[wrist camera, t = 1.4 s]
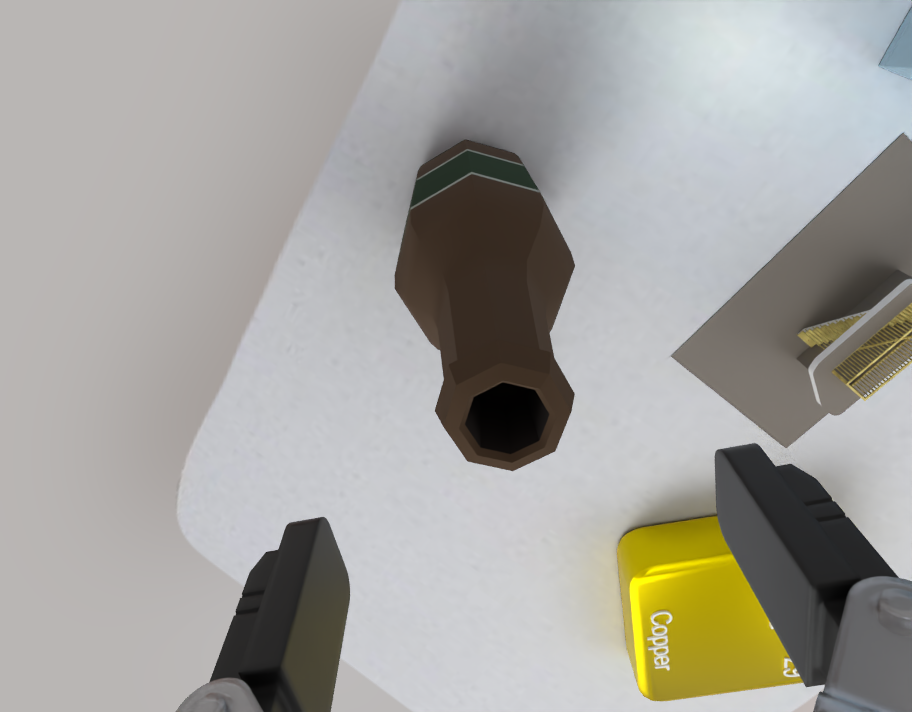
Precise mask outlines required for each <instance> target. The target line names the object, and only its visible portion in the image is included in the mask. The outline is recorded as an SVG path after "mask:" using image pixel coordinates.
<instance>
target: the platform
mask: <svg viewBox="0 0 912 712" xmlns="http://www.w3.org/2000/svg"><path fill="white" fill-rule="evenodd" d="M911 356H912V142H911V141H910V140H909V139H908V138H907V136H906V135H905V134H904V133H903V134H902V135H901V136H900V137H899V138H898V139H897V140H896V141H894V142H893V143H892V144H891V145H890V146H889V147H888V148H887V149H886V150H885V151H884V152H883V153H882V154H881V155H880V156H879V157H878V158H877V159H876V160H875V161H874V162H873V163H872V164H871V165H870V166H868V167H867V168H866V169H865V170H864V171H863V172H862V173H861V174H860V175H859V176H858V177H857V178H856V179H855V180H854V181H853V182H852V183H851V184H850V185H849V186H848V187H847V188H846V189H845V190H844V191H843V192H841V193H840V194H839V195H838V196H837V197H836V198H835V199H834V200H833V201H832V202H831V203H830V204H829V205H828V206H827V207H826V208H825V209H824V210H823V211H822V212H821V213H820V214H819V215H818V216H817V217H815V218H814V219H813V220H812V221H811V222H810V223H809V224H808V225H807V226H806V227H805V228H804V229H803V230H802V231H801V232H800V233H799V234H798V235H797V236H796V237H795V238H794V239H793V240H792V241H791V242H790V243H788V244H787V245H786V246H785V247H784V248H783V249H782V250H781V251H780V252H779V253H778V254H777V255H776V256H775V257H774V258H773V259H772V260H771V261H770V262H769V263H768V264H767V265H766V266H765V267H764V268H762V269H761V270H760V271H759V272H758V273H757V274H756V275H755V276H754V277H753V278H752V279H751V280H750V281H749V282H748V283H747V284H746V285H745V286H744V287H743V288H742V289H741V290H740V291H739V292H738V293H736V294H735V295H734V296H733V297H732V298H731V299H730V300H729V301H728V302H727V303H726V304H725V305H724V306H723V307H722V308H721V309H720V310H719V311H718V312H717V313H716V314H715V315H714V316H713V317H712V318H711V319H709V320H708V321H707V322H706V323H705V324H704V325H703V326H702V327H701V328H700V329H699V330H698V331H697V332H696V333H695V334H694V335H693V336H692V337H691V338H690V339H689V340H688V341H687V342H686V343H685V344H683V345H682V346H681V347H680V348H679V349H678V350H677V351H676V352H675V353H674V354H673V355H672V356H671V357H672V358H674V359H675V360H676V361H677V362H679V363H680V364H681V365H682V366H684V367H685V368H686V369H687V370H689V371H690V372H691V373H692V374H694V375H695V376H696V377H697V378H699V379H700V380H701V381H702V382H704V383H705V384H706V385H708V386H709V387H710V388H711V389H713V390H714V391H715V392H716V393H718V394H719V395H720V396H721V397H723V398H724V399H725V400H726V401H728V402H729V403H730V404H731V405H733V406H734V407H735V408H736V409H738V410H739V411H740V412H741V413H743V414H744V415H745V416H746V417H748V418H749V419H750V420H751V421H753V422H754V423H755V424H756V425H758V426H759V427H760V428H761V429H763V430H764V431H765V432H766V433H768V434H769V435H770V436H771V437H773V438H774V439H775V440H776V441H778V442H779V443H780V444H781V445H783V446H784V447H785V448H787V447H788V446H790V445H791V444H792V443H793V442H794V441H796V440H797V439H798V438H799V437H800V436H802V435H803V434H804V433H805V432H806V431H808V430H809V429H810V428H811V427H812V426H814V425H815V424H816V423H817V422H819V421H820V420H821V419H822V418H823V417H825V416H826V415H827V414H828V413H830V414H831V415H840V414H841V413H843V412H844V411H845V410H846V409H848V408H849V407H850V406H851V405H853V404H854V403H855V402H856V401H857V400H859V399H860V398H862V399H863V400H864V401H866V400H867V399H868V398H869V397H870V396H872V395H873V394H874V393H875V392H877V391H878V390H879V389H880V388H881V387H883V386H884V385H885V384H886V383H888V382H889V381H890V380H891V379H893V378H894V377H895V376H896V375H897V374H899V373H900V372H901V371H902V370H904V369H905V368H906V367H907V366H908V365H910V364H911V363H912V359H911V358H910V357H911ZM907 359H910V360H911V361H910V362H909V361H907ZM905 361H906V362H908V363H907V364H905V363H904V362H905ZM901 364H904V365H905V366H901ZM899 366H901V367H902V368H901V369H899V368H898V367H899ZM896 368H897V369H899V371H896V370H895V369H896ZM893 371H895V372H896V373H895V374H894V373H892V372H893ZM890 373H892V374H893V375H892V376H890V375H889V374H890ZM887 376H890V378H889V379H888V378H887ZM884 378H886V379H888V380H886V381H885V380H884ZM882 380H883V381H884V383H881V381H882ZM879 382H880V383H881V385H880V386H879V385H878V383H879ZM876 385H878V386H879V387H878V388H876V387H875V386H876ZM873 387H874V388H876V389H875V390H873V389H872V388H873ZM870 390H872V391H873V392H872V393H871V392H870ZM867 392H869V393H870V394H869V395H868V394H866V393H867ZM865 394H866V395H867V397H864V395H865Z"/></svg>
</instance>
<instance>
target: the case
mask: <svg viewBox="0 0 912 712" xmlns="http://www.w3.org/2000/svg"><path fill="white" fill-rule="evenodd" d="M879 67H881V68H883V69H886V70H888V71H891V72H893V73H896V74H898V75H901V76H903V77H906V78H908V79H911V80H912V7H911V9H910V11H909V13H908V14H907V16H906V18H905V20H904V22H903V23H902V25H901V27H900V29H899V30H898V32H897V34H896V36H895V37H894V39H893V41H892V43H891V45H890V46H889V48H888V50H887V52H886V53H885V55H884V57H883V59H882V60H881V62H880V64H879Z"/></svg>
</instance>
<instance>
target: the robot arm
mask: <svg viewBox="0 0 912 712" xmlns="http://www.w3.org/2000/svg"><path fill="white" fill-rule="evenodd" d="M715 481H716V509H717V517H718V522H719V526H720V529H721V532H722V535H723V537H724V539H725V541H726V543H727V545H728V547H729V549H730V551H731V552H732V554H733V556H734V558H735V560H736V561H737V563H738V565H739V567H740V569H741V570H742V572H743V574H744V576H745V578H746V579H747V581H748V583H749V585H750V587H751V589H752V590H753V592H754V594H755V596H756V598H757V599H758V601H759V603H760V605H761V607H762V608H763V610H764V612H765V614H766V616H767V617H768V619H769V621H770V623H771V625H772V626H773V628H774V630H775V632H776V634H777V635H778V637H779V639H780V641H781V643H782V645H783V646H784V648H785V650H786V652H787V654H788V655H789V657H790V659H791V661H792V663H793V664H794V666H795V668H796V670H797V672H798V673H799V675H800V677H801V679H802V681H803V682H804V684H805V686H806V687H810V686H817V685H824V684H825V688H824V691H823V692H819V695H818V697H817V700H816V704H815V708H814V711H813V712H912V581H909V580H906V579H901V578H899V577H898V576H897V575H896V574H895V573H894V571H893V570H892V569H891V568H890V567H889V565H888V564H887V563H886V562H885V561H884V560H883V558H882V557H881V556H880V555H879V554H878V552H877V551H876V550H875V549H874V548H873V546H872V545H871V544H870V543H869V542H868V540H867V539H866V538H865V537H864V536H863V534H862V533H861V532H860V531H859V530H858V528H857V527H856V526H855V525H854V524H853V522H852V521H851V520H850V519H849V518H848V517H847V518H846V516H845V513H844V512H843V511H842V509H841V508H840V507H839V506H838V505H837V503H836V502H835V501H834V502H833V501H832V497H831V496H830V495H829V494H828V493H827V491H826V490H825V489H824V488H823V487H822V485H821V484H820V483H819V482H818V481H817V479H816V478H814V477H812V476H811V475H809V474H807V473H805V472H804V471H802V470H800V469H799V468H797V467H795V466H794V465H792V464H787V465H781V466H775V465H774V464H773V463H772V461H771V460H770V459H769V457H768V456H767V455H766V453H765V452H764V451H763V450H762V448H761V447H760V446H759V445H758V444H756V443H753V444H747V445H742V446H736V447H730V448H724V449H719V450H717V451H716V453H715ZM349 601H350V584H349V577H348V573H347V570H346V567H345V564H344V561H343V559H342V556H341V553H340V551H339V548H338V546H337V543H336V540H335V538H334V535H333V532H332V530H331V527H330V524H329V522H328V520H327V519H326V518H325V517H320V518H314V519H308V520H303V521H297V522H291V523H289V524H288V525H287V526H286V528H285V531H284V534H283V537H282V540H281V543H280V546H279V549H278V550H275V551H269V552H266V553H265V554H264V556H263V557H262V558H261V559H260V560H259V562H258V563H257V564H256V565H255V567H254V568H253V569H252V570H251V572H250V573H249V576H248V579H247V581H246V584H245V587H244V590H243V592H242V598H240V601H239V603H238V606H237V609H236V616H234V617H233V620H232V622H231V625H230V628H229V631H228V633H227V636H226V639H225V641H224V644H223V647H222V650H221V652H220V655H219V658H218V660H217V663H216V666H215V668H214V671H213V674H212V677H211V679H210V682H209V683H207V684H205V685H203V686H202V687H200V688H199V689H197V690H196V691H194V692H193V693H192V694H191V695H190V696H189V697H187V698H186V699H185V700H184V702H183V703H182V704H181V705H180V706H179V708H178V709H177V711H176V712H331V705H332V700H333V694H334V688H335V683H336V677H337V671H338V665H339V659H340V654H341V648H342V642H343V636H344V630H345V625H346V619H347V613H348V607H349Z"/></svg>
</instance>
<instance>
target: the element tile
mask: <svg viewBox="0 0 912 712" xmlns="http://www.w3.org/2000/svg"><path fill="white" fill-rule="evenodd" d="M617 559H618V569H619V579H620V588H621V598H622V608H623V617H624V627H625V637H626V646H627V651H628V654H629V658H630V661H631V664H632V668H633V671H634V675H635V678H636V681H637V685H638V688H639V690H640V692H641V693H642V694H643V696H644V697H646V698H648V699H650V700H652V701H671V700H678V699H686V698H693V697H701V696H708V695H715V694H723V693H730V692H738V691H745V690H753V689H760V688H767V687H775V686H782V685H790V684H797V683H804V682H803V681H802V679H801V677H800V675H799V673H798V672H797V670H796V668H795V666H794V664H793V663H792V661H791V659H790V657H789V655H788V654H787V652H786V650H785V648H784V646H783V645H782V643H781V641H780V639H779V637H778V635H777V634H776V632H775V630H774V628H773V626H772V625H771V623H770V621H769V619H768V617H767V616H766V614H765V612H764V610H763V608H762V607H761V605H760V603H759V601H758V599H757V598H756V596H755V594H754V592H753V590H752V589H751V587H750V585H749V583H748V581H747V579H746V578H745V576H744V574H743V572H742V570H741V569H740V567H739V565H738V563H737V561H736V560H735V558H734V556H733V554H732V552H731V551H730V549H729V547H728V545H727V543H726V541H725V539H724V537H723V535H722V532H721V529H720V526H719V522H718V517H717V516H712V517H705V518H699V519H692V520H686V521H679V522H673V523H666V524H660V525H653V526H647V527H641V528H638V529H635V530H633V531H631V532H629V533H627V534H626V535H625V536H624V537H623V538H622V539H621V540H620V542H619V545H618V549H617Z"/></svg>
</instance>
